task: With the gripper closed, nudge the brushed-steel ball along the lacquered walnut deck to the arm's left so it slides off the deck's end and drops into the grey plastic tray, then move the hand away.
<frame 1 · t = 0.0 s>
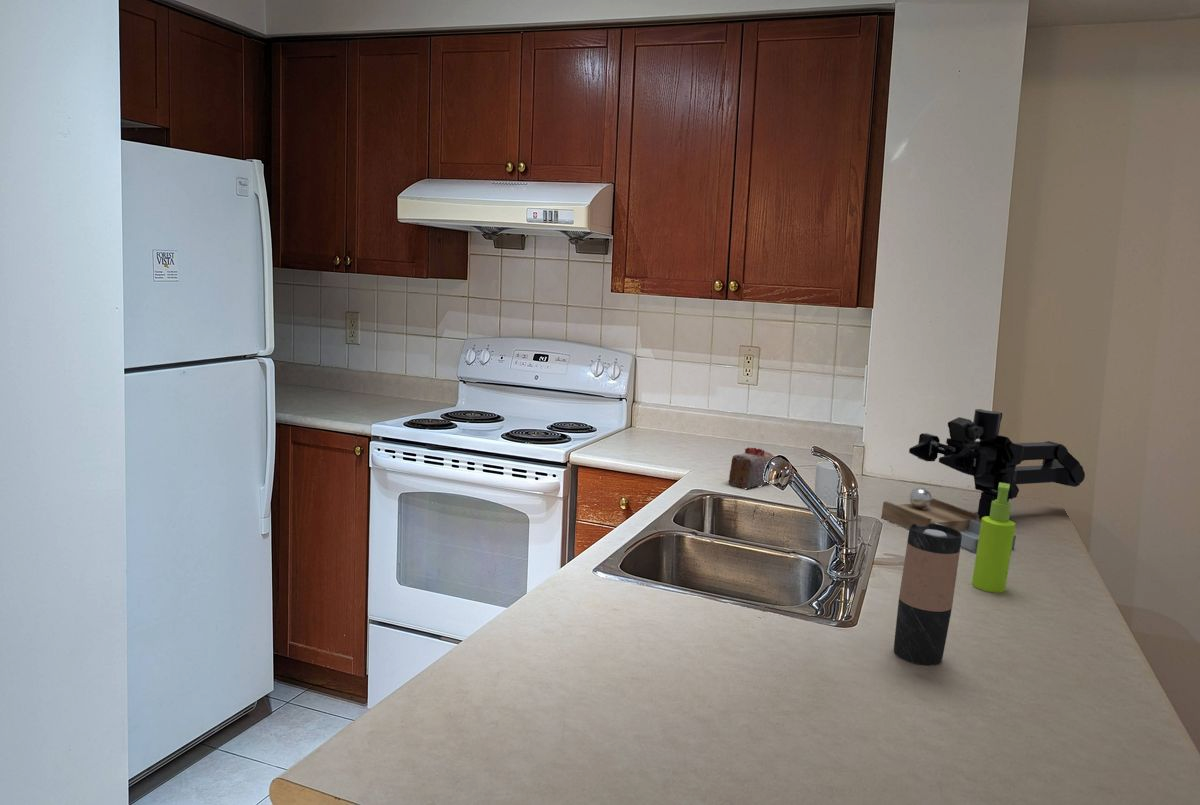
hand: (924, 455, 212), 17 cm above the countertop, tool horizontal, fingers open, 9 cm apart
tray: (972, 542, 204), on the countertop
soap dispenser: (988, 587, 176), on the countertop
food item: (751, 485, 241), on the countertop
travel mug: (917, 656, 141), on the countertop
ball: (920, 497, 217), point 5 cm above the countertop, touching deck
deck: (928, 524, 215), on the countertop
white cup: (828, 505, 226), on the countertop
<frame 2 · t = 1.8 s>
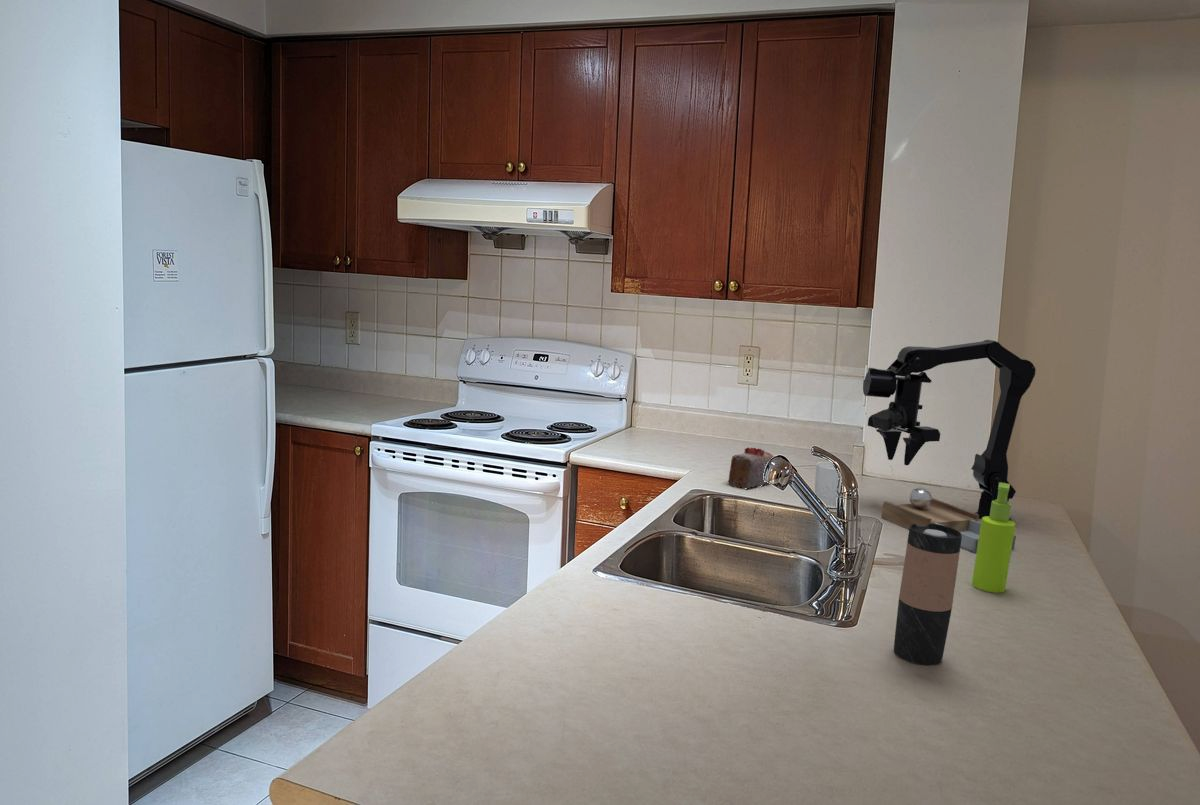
hand: (898, 462, 224), 12 cm above the countertop, tool pointing down, fingers open, 5 cm apart
nothing on the countertop moved.
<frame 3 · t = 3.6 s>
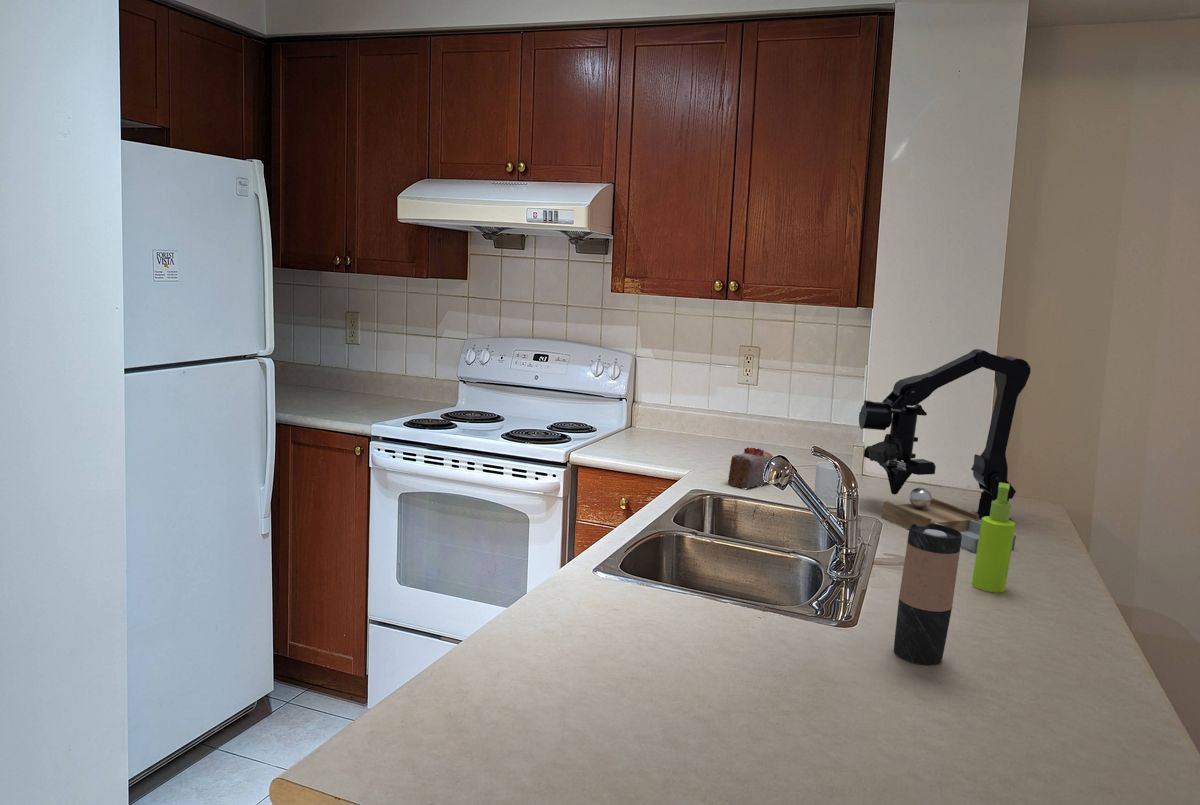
hand: (894, 494, 225), 4 cm above the countertop, tool pointing down, fingers closed
nothing on the countertop moved.
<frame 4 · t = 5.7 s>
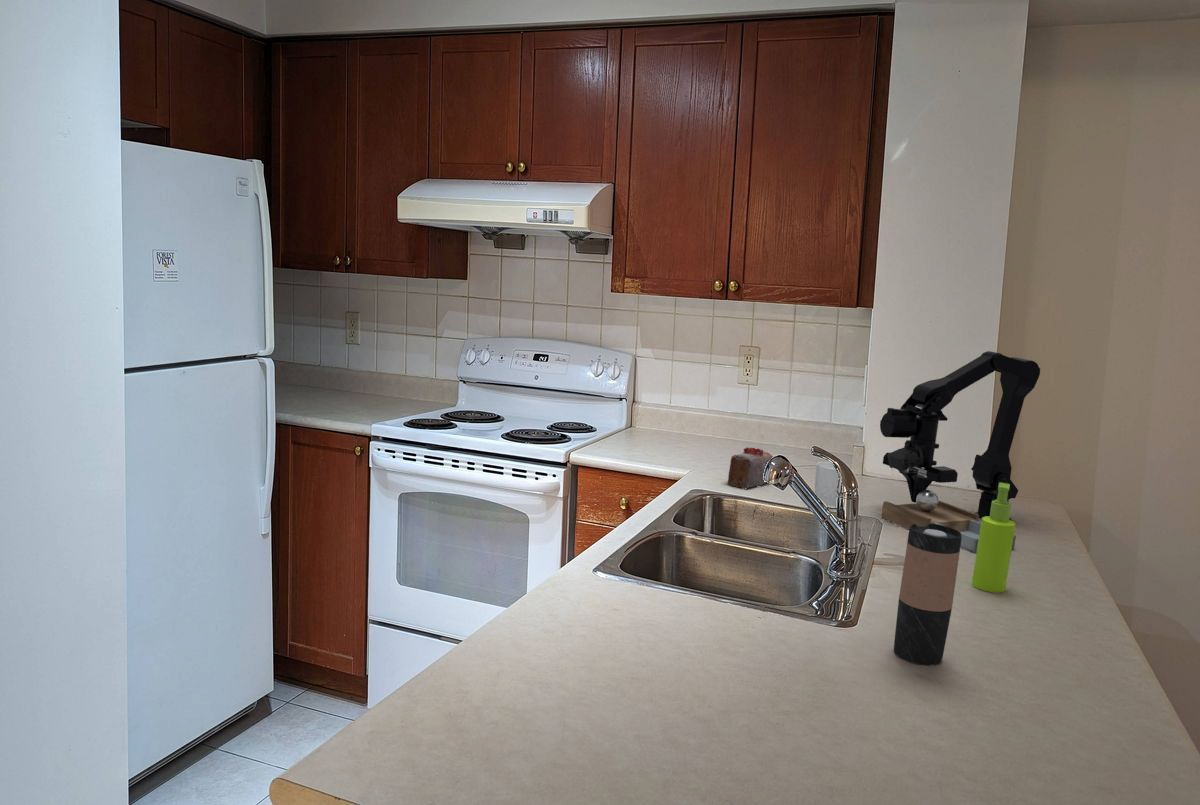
hand: (914, 502, 219), 4 cm above the countertop, tool pointing down, fingers closed
ball: (927, 500, 215), point 5 cm above the countertop, touching deck
everything else where it was.
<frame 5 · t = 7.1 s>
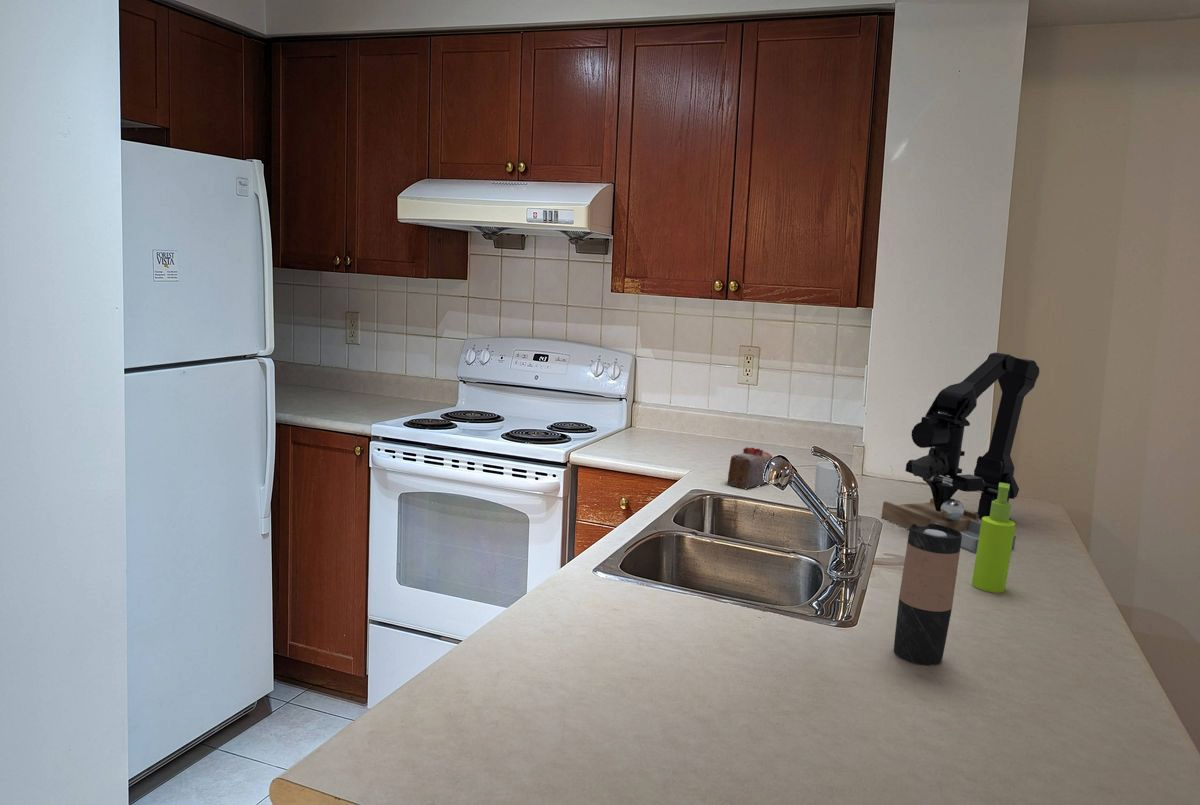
hand: (938, 511, 212), 4 cm above the countertop, tool pointing down, fingers closed
ball: (952, 509, 209), point 6 cm above the countertop, tilted 22°, touching gripper
everything else where it was.
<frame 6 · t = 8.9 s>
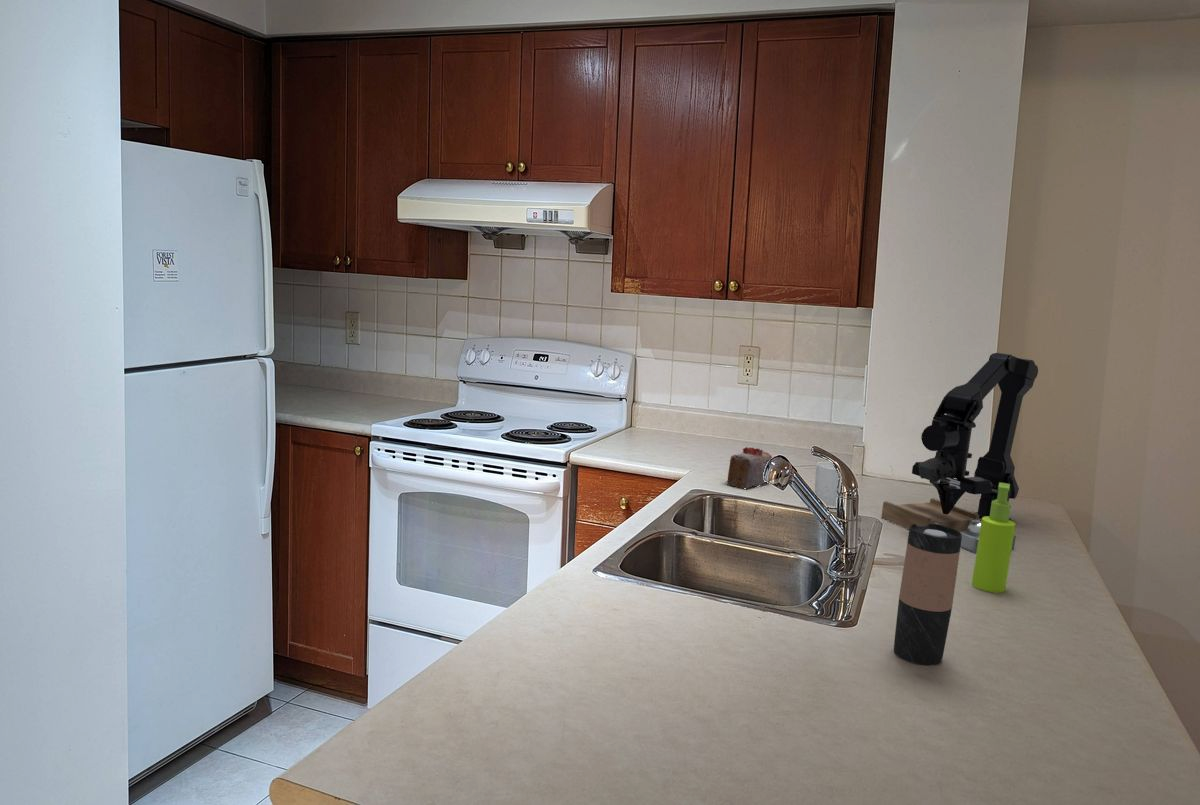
hand: (945, 513, 211), 4 cm above the countertop, tool pointing down, fingers closed
ball: (978, 531, 202), point 3 cm above the countertop, tilted 173°, touching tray
everything else where it was.
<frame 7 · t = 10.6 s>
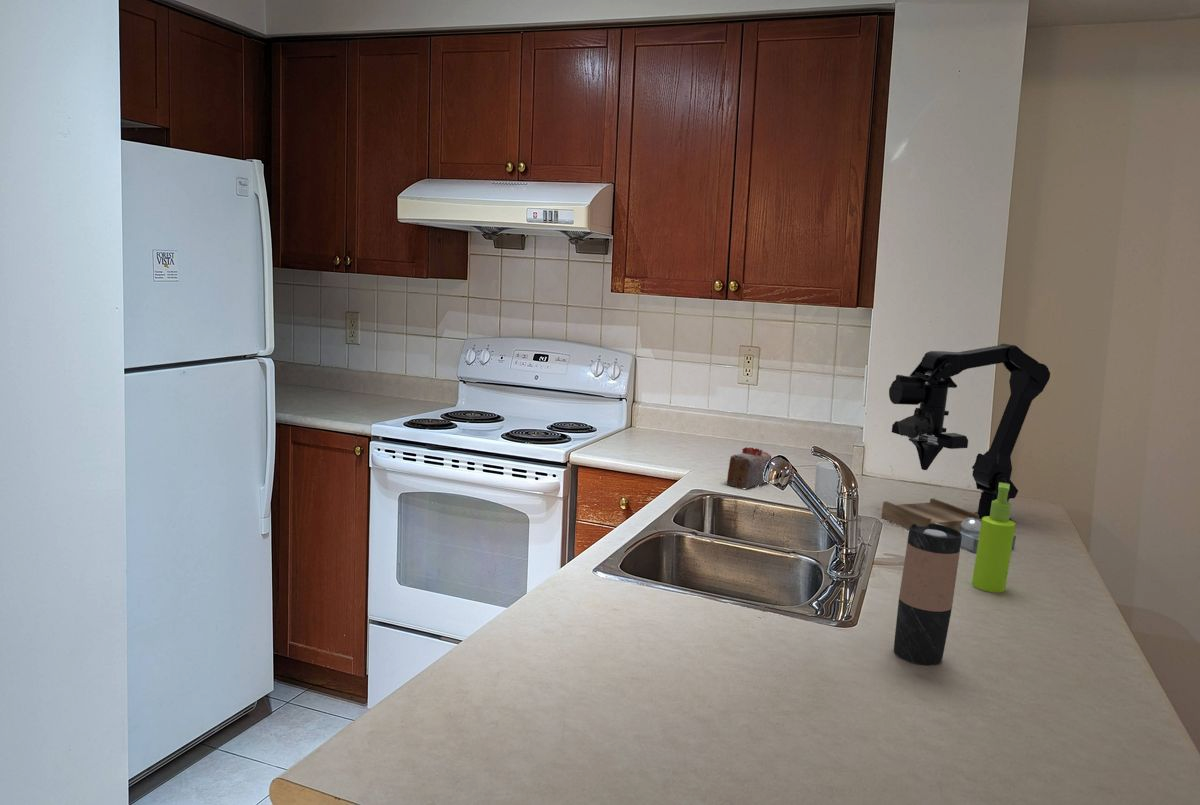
hand: (924, 469, 219), 12 cm above the countertop, tool pointing down, fingers closed
ball: (971, 528, 204), point 3 cm above the countertop, tilted 141°, touching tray
everything else where it was.
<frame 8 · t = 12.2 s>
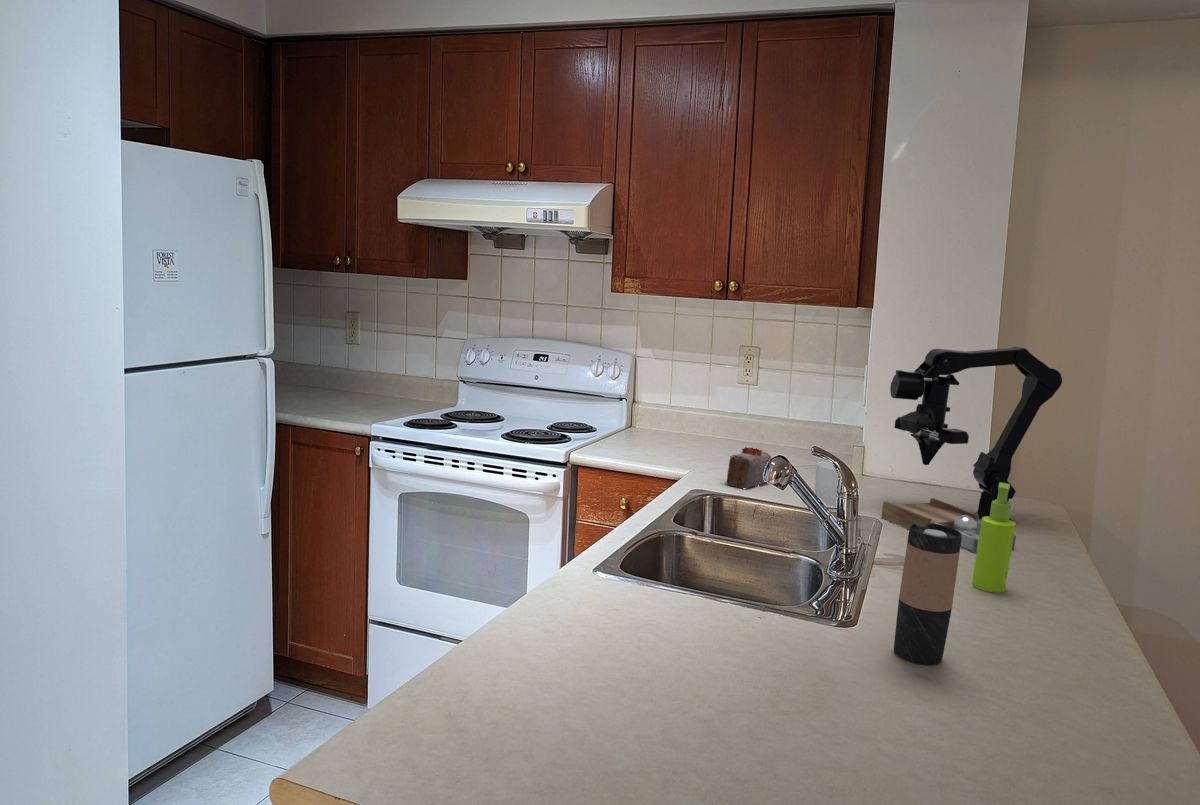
hand: (925, 464, 224), 12 cm above the countertop, tool pointing down, fingers closed
ball: (965, 526, 205), point 3 cm above the countertop, tilted 98°, touching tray
everything else where it was.
at the end: ball inside the target area (2.5 cm from its centre), point 2.9 cm above the countertop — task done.
